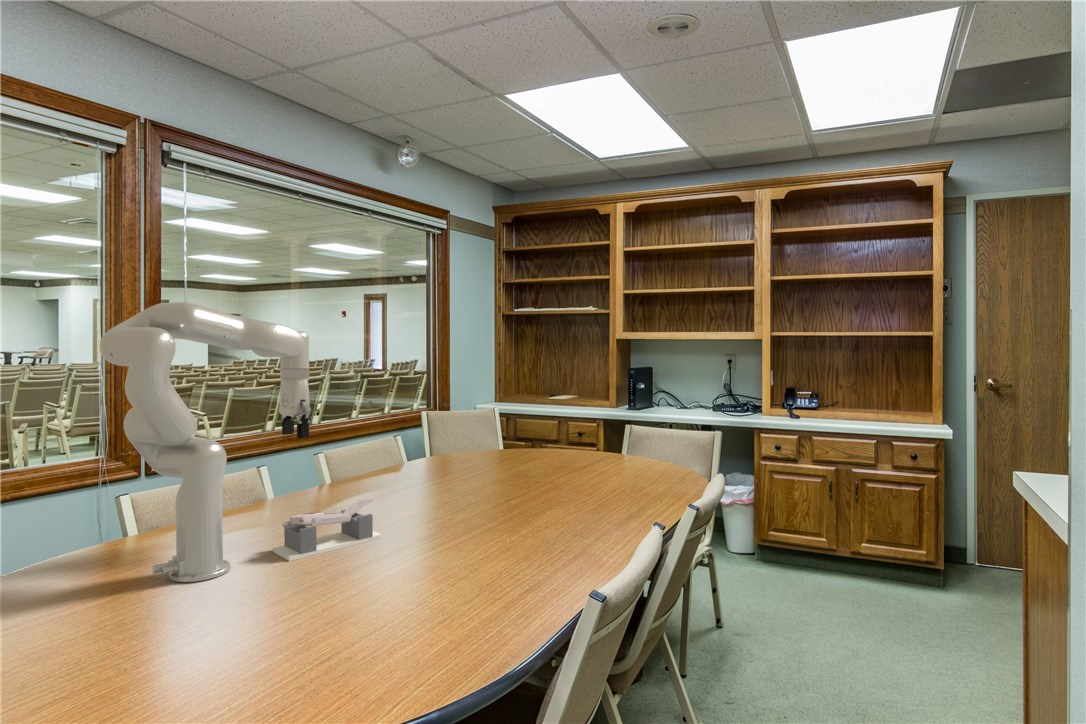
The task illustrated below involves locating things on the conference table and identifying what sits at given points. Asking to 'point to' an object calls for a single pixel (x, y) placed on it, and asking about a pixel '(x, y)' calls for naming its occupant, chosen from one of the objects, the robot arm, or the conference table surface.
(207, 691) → the conference table surface
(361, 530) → the cradle stand
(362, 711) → the conference table surface
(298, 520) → the mobile phone
